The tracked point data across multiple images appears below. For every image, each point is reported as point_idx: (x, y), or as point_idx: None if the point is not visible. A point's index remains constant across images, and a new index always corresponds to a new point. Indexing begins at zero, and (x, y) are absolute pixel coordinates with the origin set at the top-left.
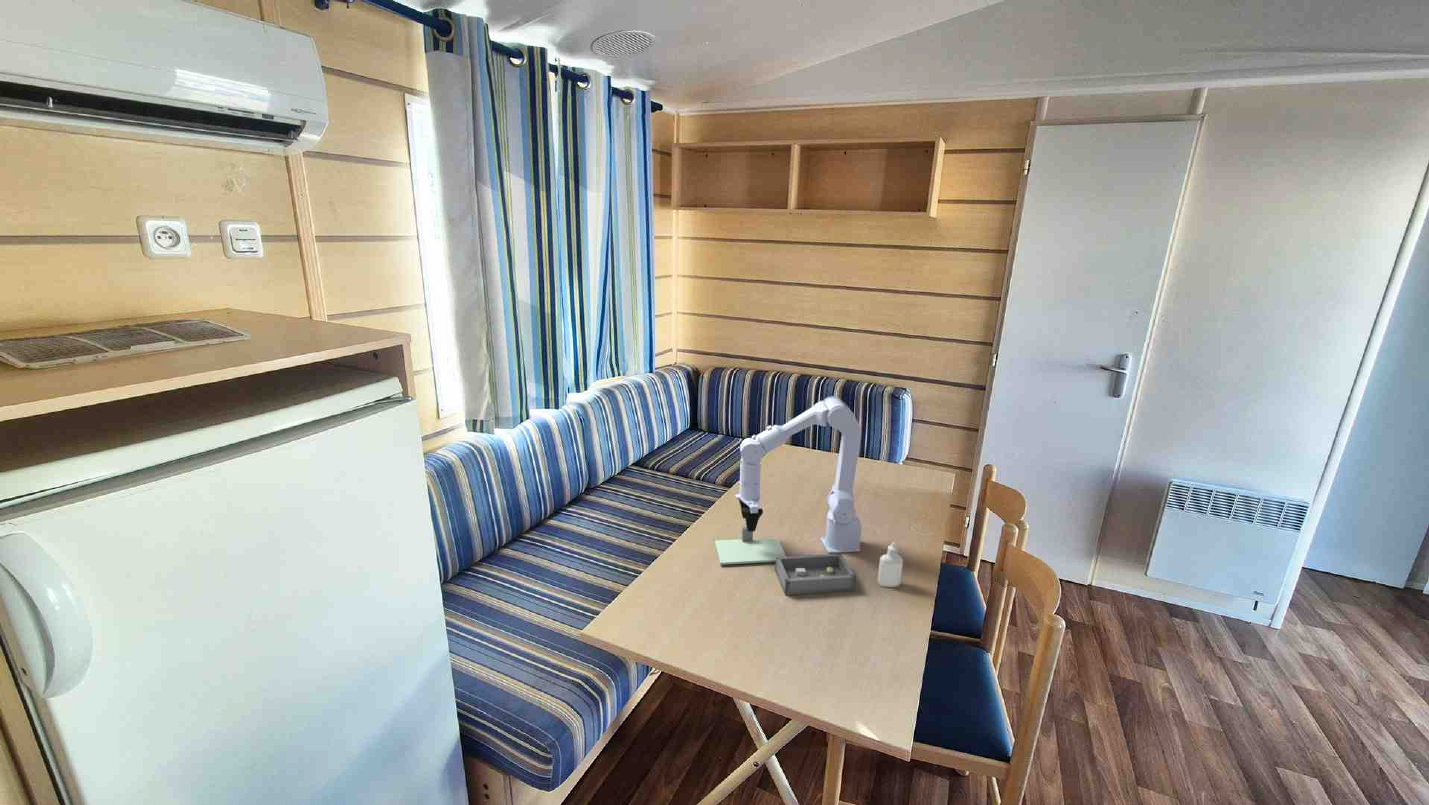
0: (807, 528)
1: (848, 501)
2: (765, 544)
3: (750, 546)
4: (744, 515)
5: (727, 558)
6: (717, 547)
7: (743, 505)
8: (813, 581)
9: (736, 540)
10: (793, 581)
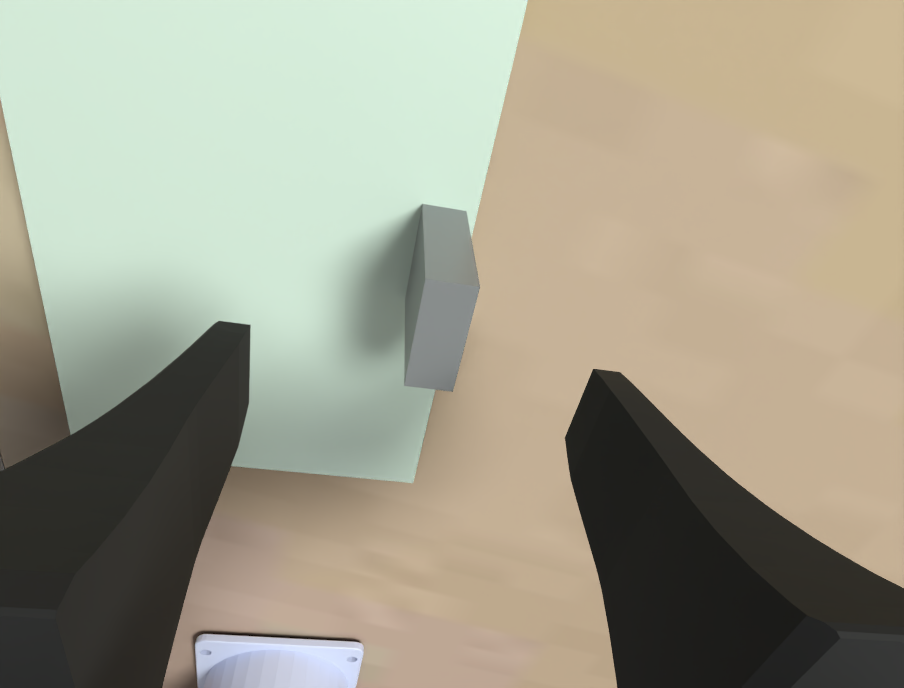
0: (504, 623)
1: None
2: (325, 378)
3: (314, 250)
4: (599, 412)
5: None
6: None
7: (666, 531)
8: None
9: (468, 152)
10: None
